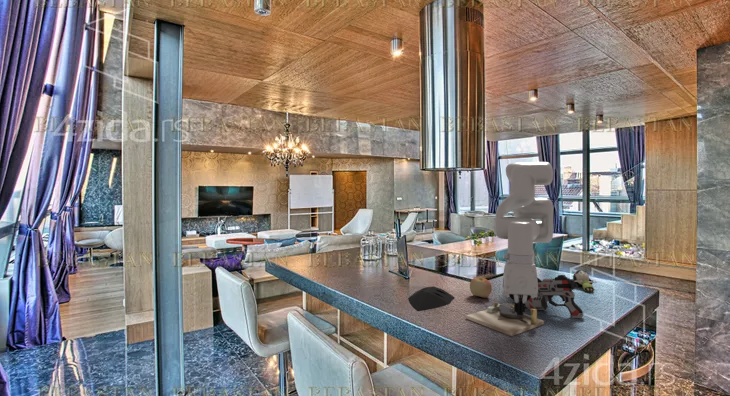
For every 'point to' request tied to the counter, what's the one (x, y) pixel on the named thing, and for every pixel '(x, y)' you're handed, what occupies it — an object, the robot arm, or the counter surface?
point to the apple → (480, 287)
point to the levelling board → (502, 321)
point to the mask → (430, 298)
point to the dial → (509, 312)
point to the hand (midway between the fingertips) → (519, 313)
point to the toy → (583, 280)
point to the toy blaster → (557, 288)
